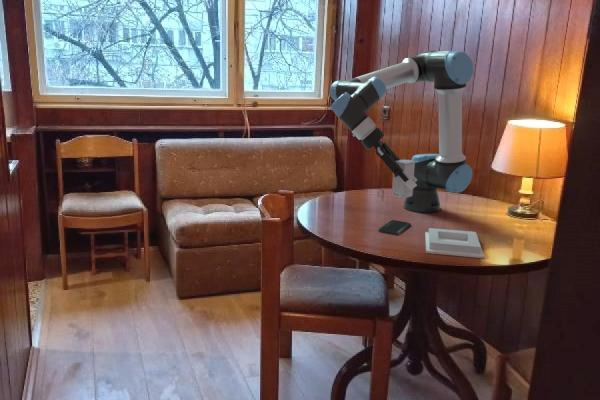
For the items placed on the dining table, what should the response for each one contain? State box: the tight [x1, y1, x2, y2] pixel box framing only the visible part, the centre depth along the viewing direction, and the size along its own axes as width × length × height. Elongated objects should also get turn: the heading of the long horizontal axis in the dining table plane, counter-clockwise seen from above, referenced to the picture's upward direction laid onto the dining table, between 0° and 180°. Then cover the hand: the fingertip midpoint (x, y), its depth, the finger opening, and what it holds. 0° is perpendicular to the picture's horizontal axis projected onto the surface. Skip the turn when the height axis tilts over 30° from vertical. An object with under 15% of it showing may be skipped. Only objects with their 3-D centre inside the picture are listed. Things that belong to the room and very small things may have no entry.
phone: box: [378, 219, 412, 236], centre depth 199 cm, size 8×1×15 cm
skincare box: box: [391, 158, 415, 200], centre depth 178 cm, size 6×4×12 cm
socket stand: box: [424, 227, 485, 259], centre depth 181 cm, size 20×18×3 cm
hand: (413, 185), depth 178 cm, fingers closed on skincare box, 7 cm apart
